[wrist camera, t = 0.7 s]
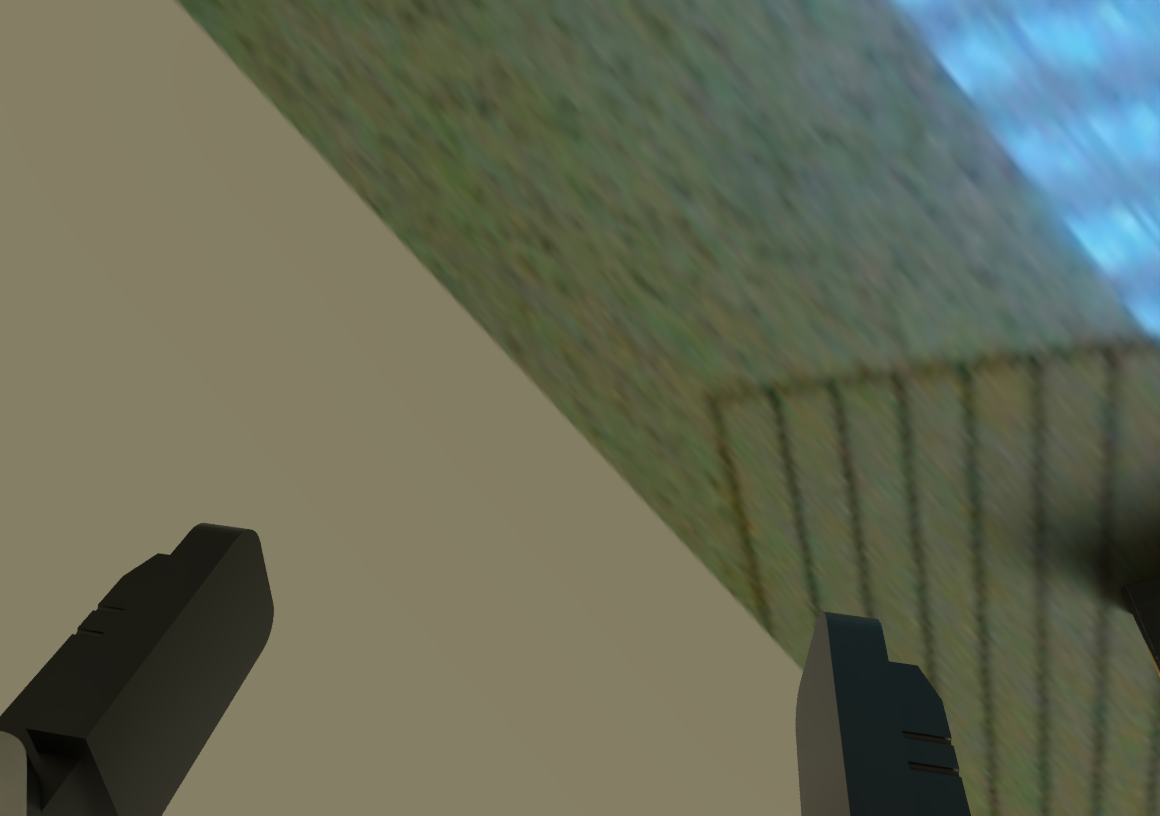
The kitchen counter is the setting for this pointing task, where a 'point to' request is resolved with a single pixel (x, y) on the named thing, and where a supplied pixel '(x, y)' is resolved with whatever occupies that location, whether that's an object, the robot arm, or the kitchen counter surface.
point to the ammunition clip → (1146, 613)
